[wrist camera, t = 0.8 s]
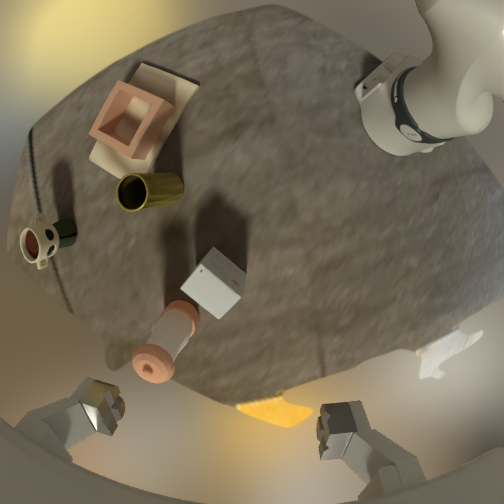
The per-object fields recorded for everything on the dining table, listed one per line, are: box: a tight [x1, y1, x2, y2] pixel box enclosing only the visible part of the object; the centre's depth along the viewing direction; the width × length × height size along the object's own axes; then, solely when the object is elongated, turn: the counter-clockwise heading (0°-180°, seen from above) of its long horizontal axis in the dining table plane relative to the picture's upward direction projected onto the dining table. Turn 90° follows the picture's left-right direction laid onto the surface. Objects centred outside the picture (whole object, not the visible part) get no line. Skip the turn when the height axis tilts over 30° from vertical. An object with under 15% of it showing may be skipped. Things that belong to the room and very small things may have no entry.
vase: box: [116, 172, 184, 212], centre depth 40 cm, size 6×6×14 cm
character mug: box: [20, 213, 77, 269], centre depth 44 cm, size 11×7×13 cm, turn 174°
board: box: [89, 63, 200, 179], centre depth 43 cm, size 22×14×1 cm, turn 148°
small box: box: [180, 247, 246, 320], centre depth 45 cm, size 8×6×10 cm
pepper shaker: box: [132, 300, 199, 383], centre depth 44 cm, size 7×7×19 cm
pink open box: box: [89, 80, 175, 160], centre depth 40 cm, size 11×11×6 cm
